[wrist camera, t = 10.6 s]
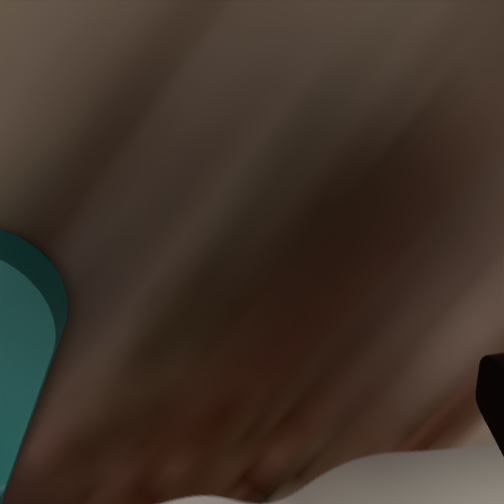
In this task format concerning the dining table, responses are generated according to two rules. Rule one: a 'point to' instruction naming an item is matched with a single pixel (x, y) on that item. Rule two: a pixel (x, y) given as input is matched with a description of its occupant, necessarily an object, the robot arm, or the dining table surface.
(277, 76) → the dining table surface
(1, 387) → the bracket
